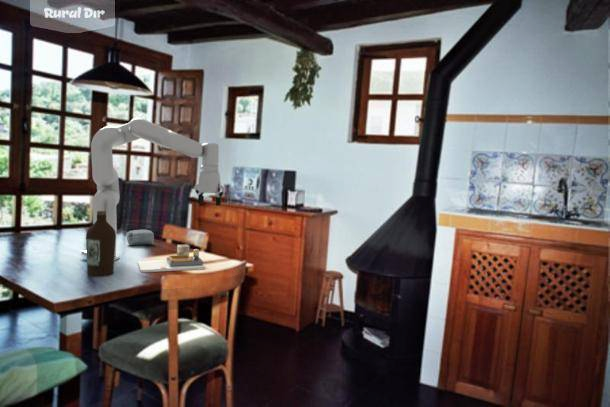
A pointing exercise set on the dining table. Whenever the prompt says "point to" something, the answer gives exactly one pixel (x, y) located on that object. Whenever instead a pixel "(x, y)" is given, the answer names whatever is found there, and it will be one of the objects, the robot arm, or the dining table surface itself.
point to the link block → (182, 249)
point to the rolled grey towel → (140, 237)
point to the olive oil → (100, 247)
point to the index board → (163, 266)
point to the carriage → (185, 259)
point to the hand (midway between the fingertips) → (209, 204)
